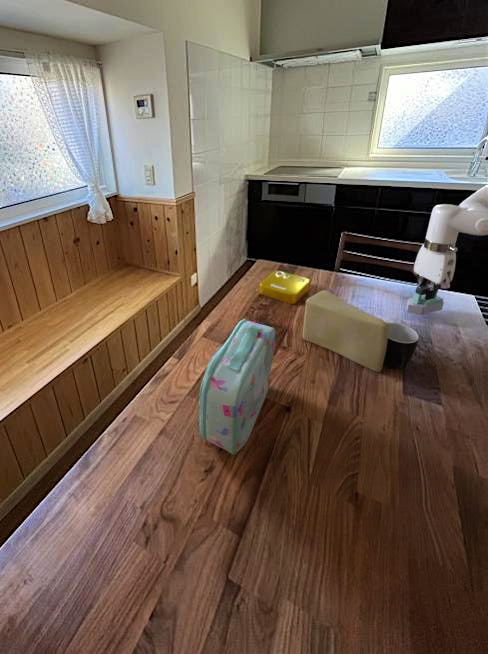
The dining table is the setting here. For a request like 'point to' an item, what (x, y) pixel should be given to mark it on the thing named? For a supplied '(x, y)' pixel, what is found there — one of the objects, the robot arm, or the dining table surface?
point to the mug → (400, 346)
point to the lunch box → (236, 386)
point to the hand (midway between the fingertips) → (425, 296)
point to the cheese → (345, 330)
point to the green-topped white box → (424, 302)
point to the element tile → (284, 287)
